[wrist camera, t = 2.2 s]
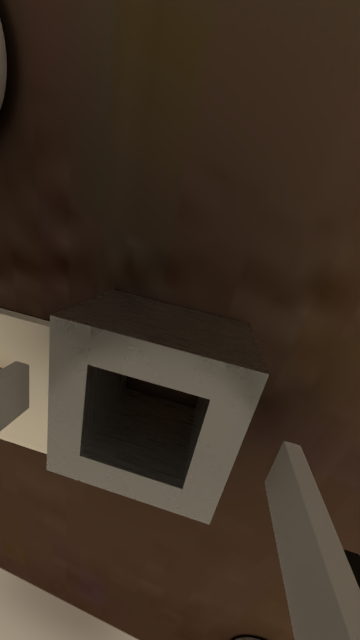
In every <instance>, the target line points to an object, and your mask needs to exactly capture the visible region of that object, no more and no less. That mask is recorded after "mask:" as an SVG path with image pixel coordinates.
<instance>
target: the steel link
mask: <svg viewBox="0 0 360 640" xmlns="http://www.w3.org/2000/svg"><path fill="white" fill-rule="evenodd" d="M127 376H129V377H133V378H136V379H140V380H143V381H147V382H150V383H154V384H157V385H161V386H164V387H167V388H171V389H174V390H178V391H181V392H185V393H188V394H192V395H195V396H198V399H197V403H196V406H195V408H194V407H191V406H187V405H184V404H180V403H177V402H173V401H170V400H167V399H163V398H160V397H156V396H153V395H149V394H146V393H143V392H139V391H136V390H132V389H129V388H125V387H126V381H127ZM268 376H269V373H268V370H267V368H266V365H265V362H264V360H263V357H262V355H261V352H260V349H259V347H258V344H257V342H256V339H255V336H254V334H253V331H252V329H251V326H250V324H248V323H244V322H240V321H236V320H232V319H228V318H224V317H220V316H216V315H212V314H208V313H204V312H200V311H197V310H193V309H189V308H185V307H181V306H177V305H173V304H169V303H165V302H161V301H157V300H153V299H149V298H145V297H141V296H137V295H133V294H129V293H125V292H121V291H117V290H111V291H109V292H106V293H104V294H101V295H99V296H97V297H94V298H92V299H89V300H87V301H84V302H82V303H79V304H77V305H74V306H72V307H69V308H67V309H64V310H62V311H59V312H57V313H54V314H52V315H50V339H49V385H48V431H47V470H48V471H51V472H54V473H57V474H60V475H63V476H66V477H69V478H72V479H75V480H78V481H81V482H84V483H87V484H90V485H93V486H96V487H99V488H102V489H105V490H108V491H111V492H114V493H117V494H120V495H123V496H126V497H129V498H132V499H135V500H138V501H141V502H144V503H146V504H149V505H152V506H155V507H158V508H161V509H164V510H167V511H170V512H173V513H176V514H179V515H182V516H185V517H188V518H191V519H194V520H197V521H200V522H203V523H206V524H210V522H211V519H212V517H213V514H214V512H215V509H216V507H217V504H218V502H219V499H220V497H221V494H222V492H223V489H224V487H225V484H226V482H227V479H228V477H229V474H230V472H231V469H232V467H233V464H234V462H235V459H236V457H237V454H238V452H239V449H240V446H241V444H242V441H243V439H244V436H245V434H246V431H247V429H248V426H249V424H250V421H251V419H252V416H253V414H254V411H255V409H256V406H257V404H258V401H259V399H260V396H261V394H262V391H263V389H264V386H265V384H266V381H267V379H268Z"/></svg>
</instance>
